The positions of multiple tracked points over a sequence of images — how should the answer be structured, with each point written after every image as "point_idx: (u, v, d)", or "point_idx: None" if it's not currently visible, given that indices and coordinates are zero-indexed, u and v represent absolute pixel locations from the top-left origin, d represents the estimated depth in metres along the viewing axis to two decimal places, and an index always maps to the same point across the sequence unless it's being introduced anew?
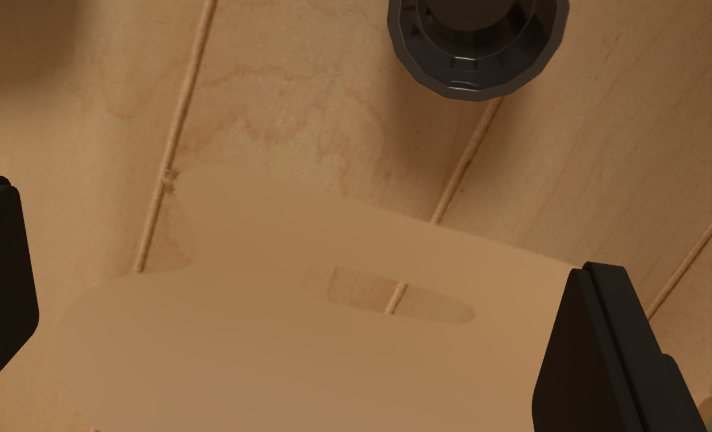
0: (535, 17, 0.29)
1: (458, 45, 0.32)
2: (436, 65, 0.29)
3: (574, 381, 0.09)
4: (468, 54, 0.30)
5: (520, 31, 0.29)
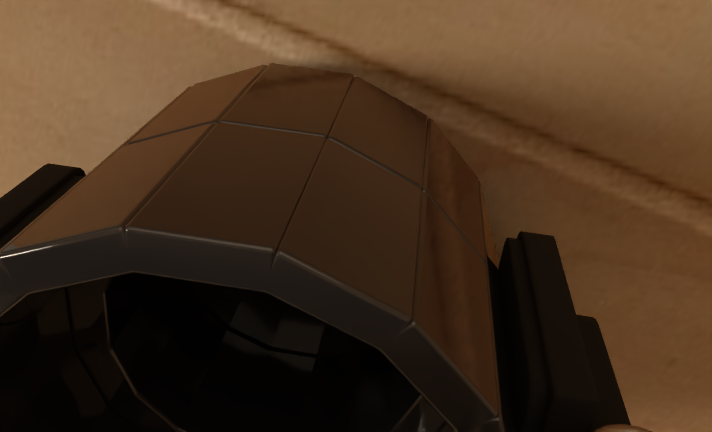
0: None
1: None
2: None
3: None
4: None
5: None
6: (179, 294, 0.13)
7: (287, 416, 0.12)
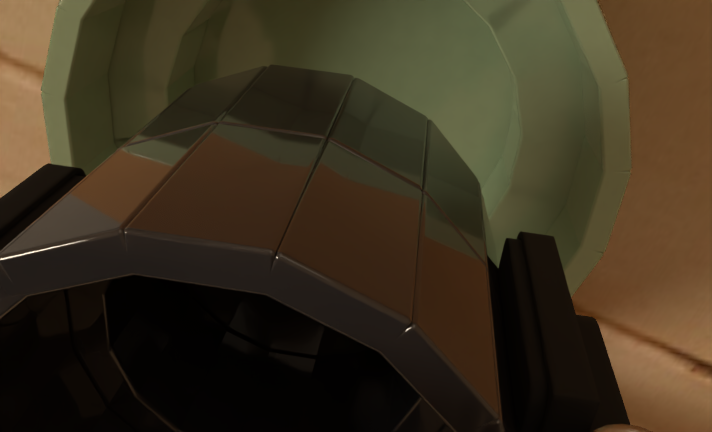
0: None
1: None
2: None
3: None
4: None
5: None
6: (179, 295, 0.13)
7: (287, 417, 0.12)
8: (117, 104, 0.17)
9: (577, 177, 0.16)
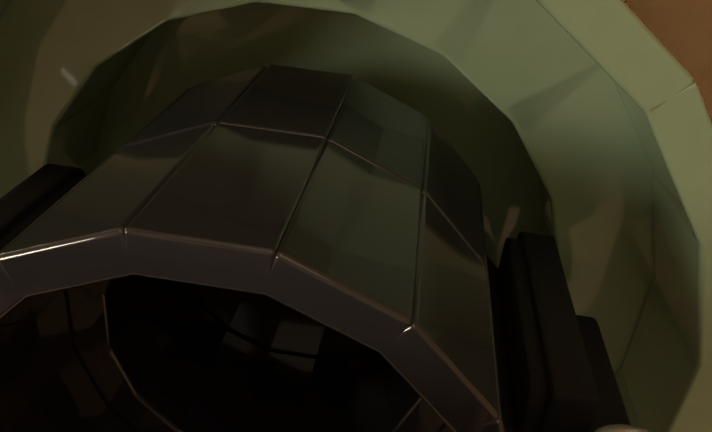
0: None
1: None
2: None
3: None
4: None
5: None
6: (179, 295, 0.13)
7: (287, 417, 0.12)
8: None
9: (642, 339, 0.11)
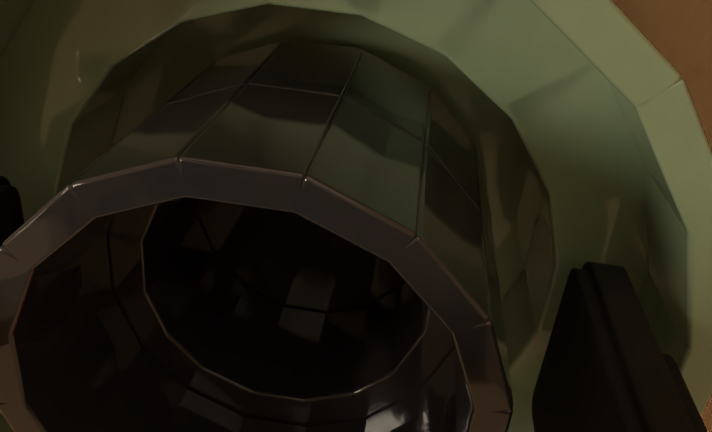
0: None
1: None
2: (433, 397, 0.11)
3: (574, 381, 0.09)
4: None
5: None
6: (202, 253, 0.14)
7: (301, 361, 0.13)
8: None
9: None
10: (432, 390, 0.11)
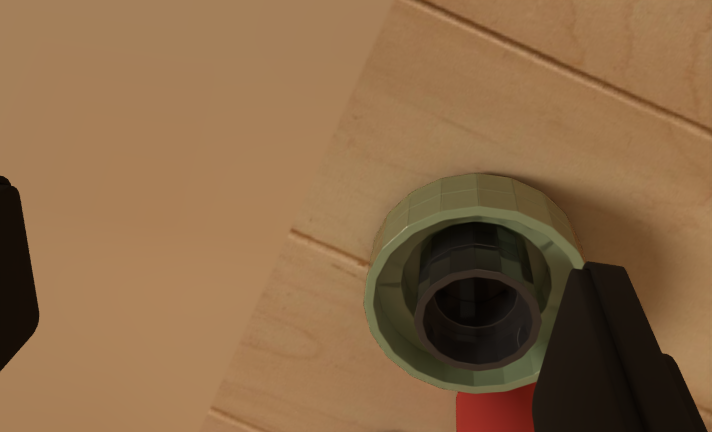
0: None
1: None
2: (517, 324, 0.40)
3: (574, 381, 0.09)
4: (515, 292, 0.40)
5: None
6: None
7: (471, 317, 0.42)
8: (381, 271, 0.41)
9: None
10: (517, 323, 0.40)
